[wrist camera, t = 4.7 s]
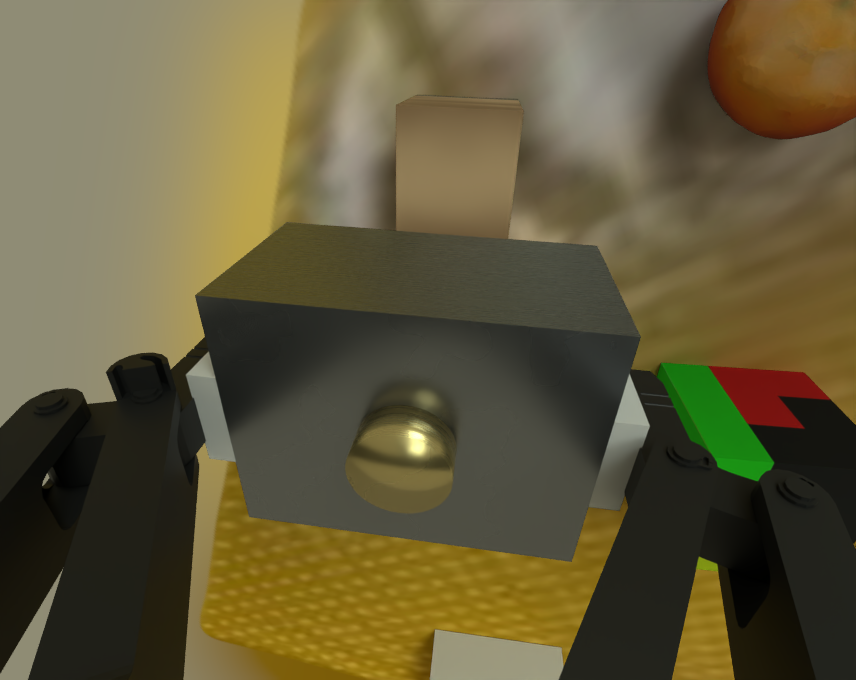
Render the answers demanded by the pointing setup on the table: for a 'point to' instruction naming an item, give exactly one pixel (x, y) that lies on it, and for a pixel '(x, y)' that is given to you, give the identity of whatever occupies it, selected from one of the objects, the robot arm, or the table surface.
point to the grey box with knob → (420, 383)
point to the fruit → (785, 65)
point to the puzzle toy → (767, 427)
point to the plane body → (456, 164)
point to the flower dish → (492, 659)
